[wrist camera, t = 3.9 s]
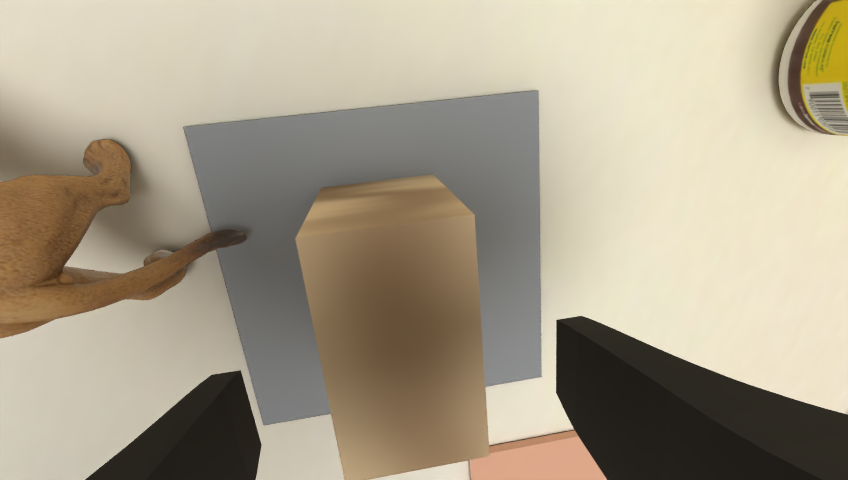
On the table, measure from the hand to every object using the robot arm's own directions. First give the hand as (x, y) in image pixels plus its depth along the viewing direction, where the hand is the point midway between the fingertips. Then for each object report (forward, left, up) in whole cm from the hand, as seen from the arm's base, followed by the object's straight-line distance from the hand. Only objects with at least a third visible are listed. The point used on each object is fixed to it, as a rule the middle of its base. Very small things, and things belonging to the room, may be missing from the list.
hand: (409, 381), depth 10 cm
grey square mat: (0, 0, -7) cm, 7 cm away
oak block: (0, 0, -7) cm, 7 cm away
